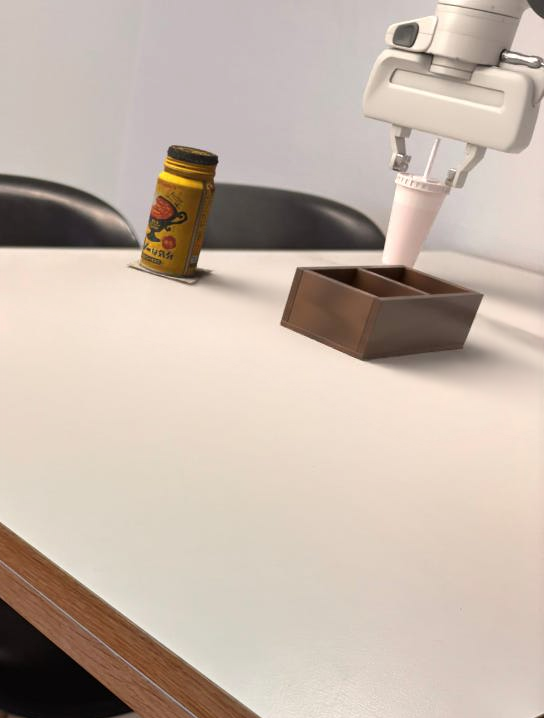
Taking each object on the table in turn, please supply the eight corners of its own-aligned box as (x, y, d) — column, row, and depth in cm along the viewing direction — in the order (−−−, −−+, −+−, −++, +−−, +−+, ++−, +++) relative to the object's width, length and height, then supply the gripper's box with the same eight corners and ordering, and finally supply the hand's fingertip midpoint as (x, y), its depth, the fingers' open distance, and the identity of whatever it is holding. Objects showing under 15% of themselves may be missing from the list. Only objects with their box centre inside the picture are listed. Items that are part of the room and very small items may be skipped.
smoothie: (370, 263, 125) (411, 134, 118) (370, 254, 131) (408, 129, 123) (425, 275, 125) (469, 146, 117) (422, 265, 130) (464, 141, 123)
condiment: (125, 266, 112) (151, 143, 106) (152, 255, 119) (178, 139, 113) (189, 285, 110) (220, 161, 104) (213, 273, 117) (243, 156, 111)
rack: (463, 347, 110) (484, 294, 107) (361, 360, 98) (382, 300, 95) (384, 316, 115) (402, 264, 112) (279, 324, 103) (296, 266, 100)
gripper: (570, 62, 111) (518, 202, 119) (406, 31, 123) (368, 159, 130) (543, 56, 107) (491, 201, 115) (375, 24, 119) (338, 157, 126)
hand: (424, 178), depth 123 cm, fingers closed on smoothie, 6 cm apart
